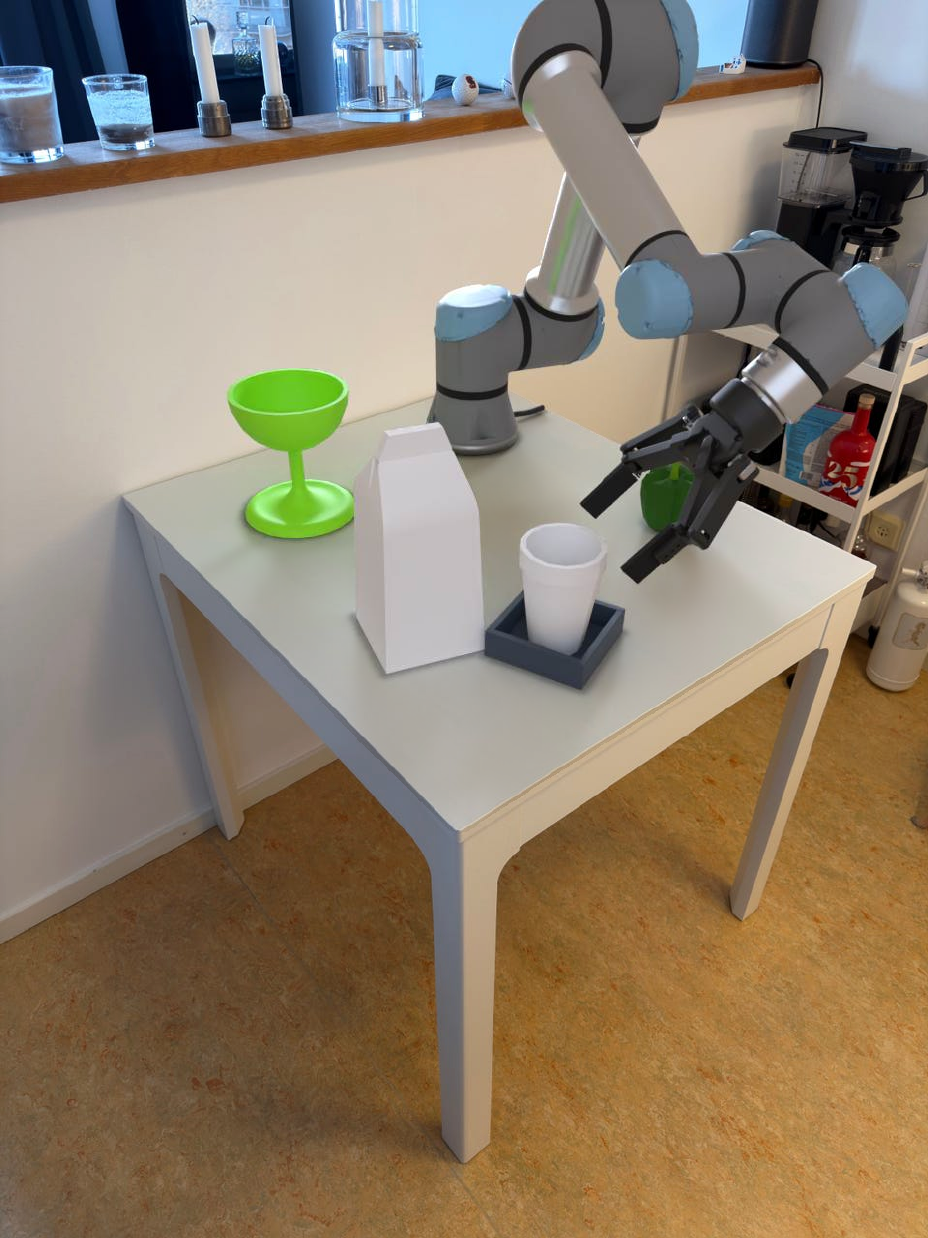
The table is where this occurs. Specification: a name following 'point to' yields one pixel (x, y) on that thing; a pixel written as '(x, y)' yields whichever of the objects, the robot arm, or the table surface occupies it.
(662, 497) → the bell pepper
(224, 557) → the table surface
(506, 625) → the tray
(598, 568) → the foam cup
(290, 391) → the wineglass
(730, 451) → the robot arm
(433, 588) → the milk
